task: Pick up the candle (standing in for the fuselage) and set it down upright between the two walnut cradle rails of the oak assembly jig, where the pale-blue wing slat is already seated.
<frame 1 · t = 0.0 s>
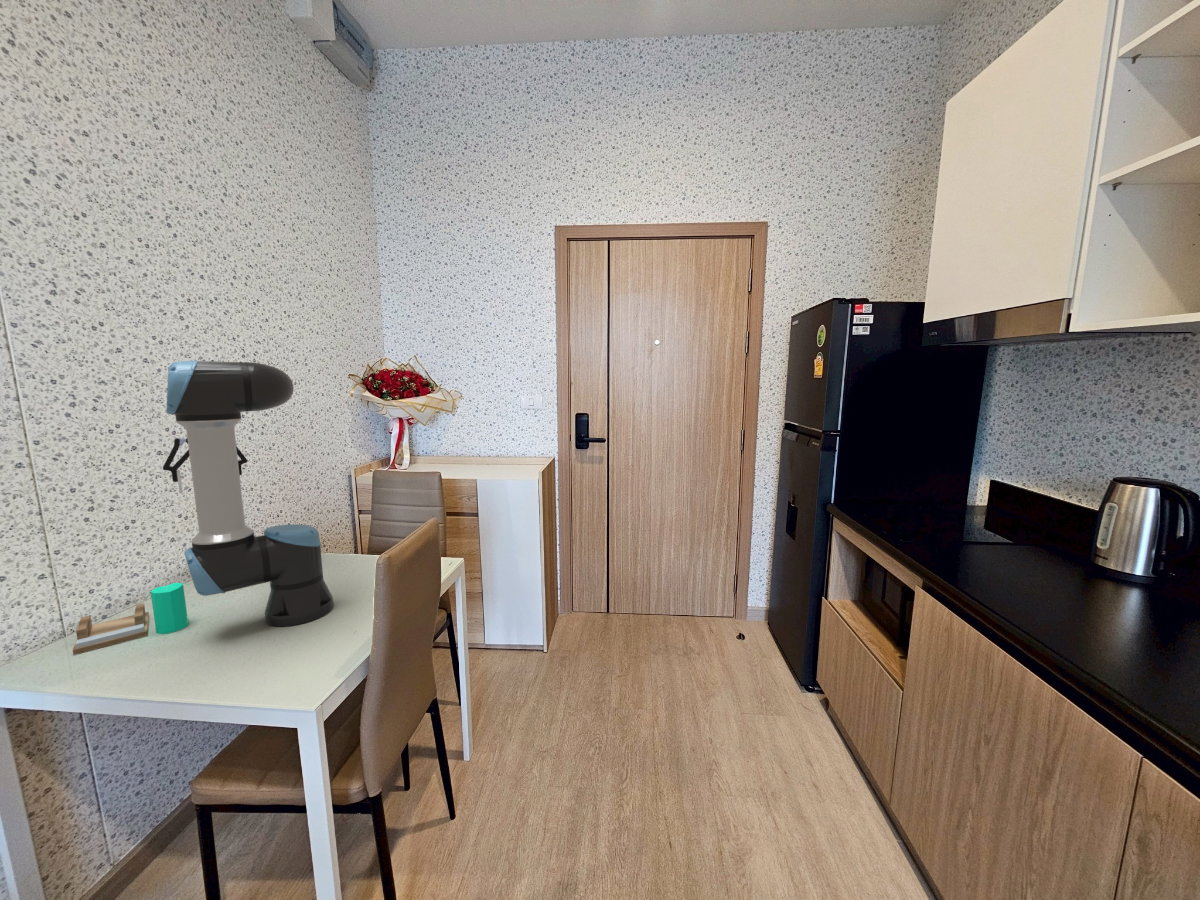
hand: (209, 488, 148), 28 cm above the table, fingers open, 13 cm apart
jig: (114, 634, 115), on the table
wing slat: (112, 642, 111), resting on jig
candle: (172, 628, 117), on the table
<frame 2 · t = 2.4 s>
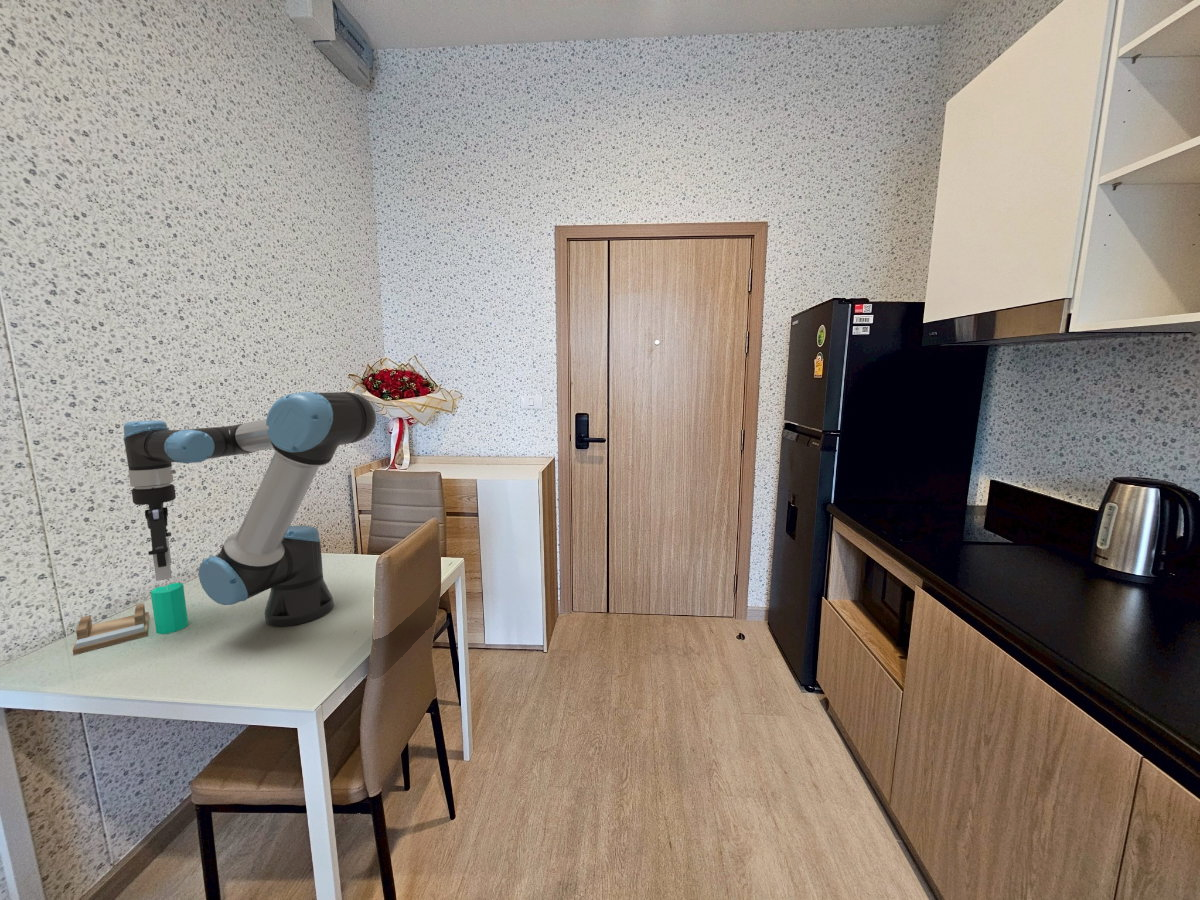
hand: (164, 571, 115), 15 cm above the table, fingers open, 13 cm apart
nothing on the table moved.
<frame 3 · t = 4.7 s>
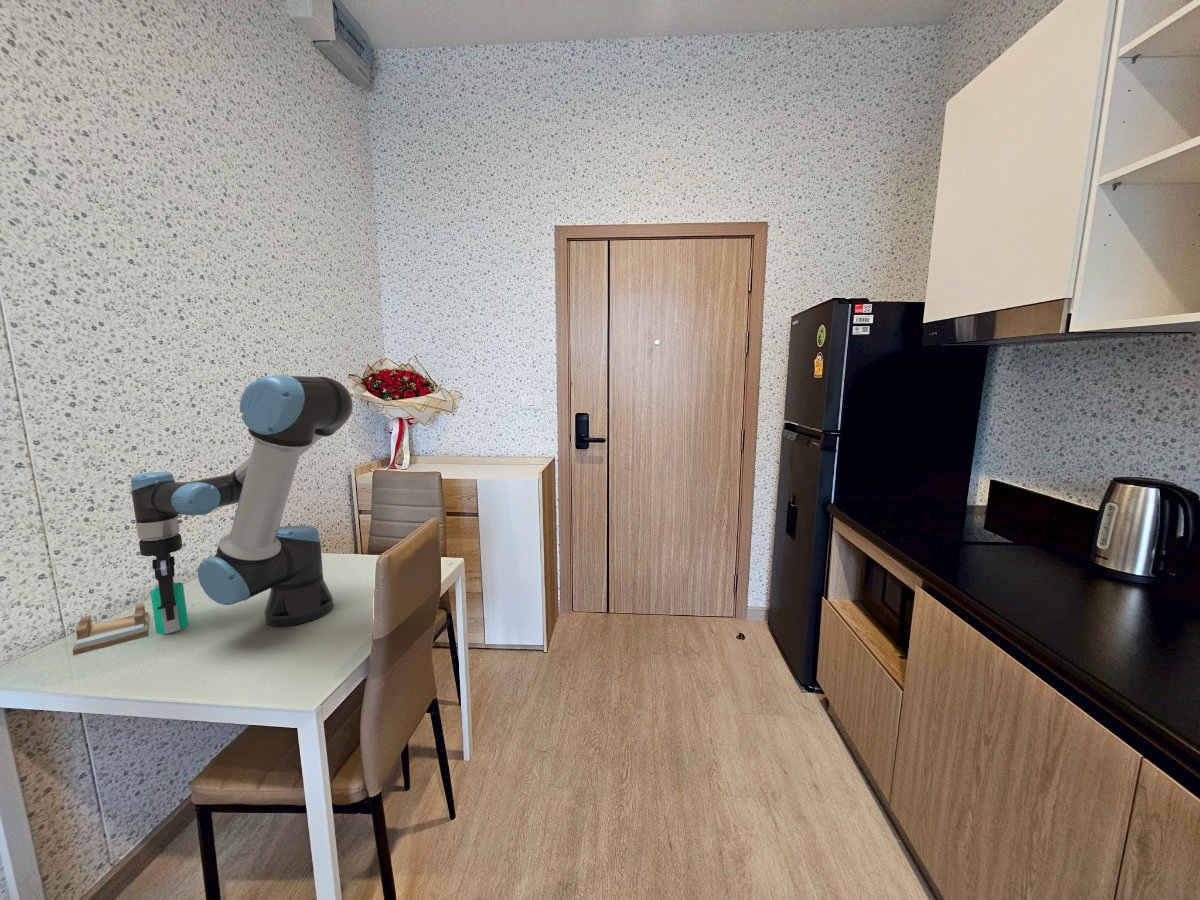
hand: (172, 626, 117), 0 cm above the table, fingers closed on candle, 6 cm apart
candle: (172, 628, 117), on the table, touching gripper
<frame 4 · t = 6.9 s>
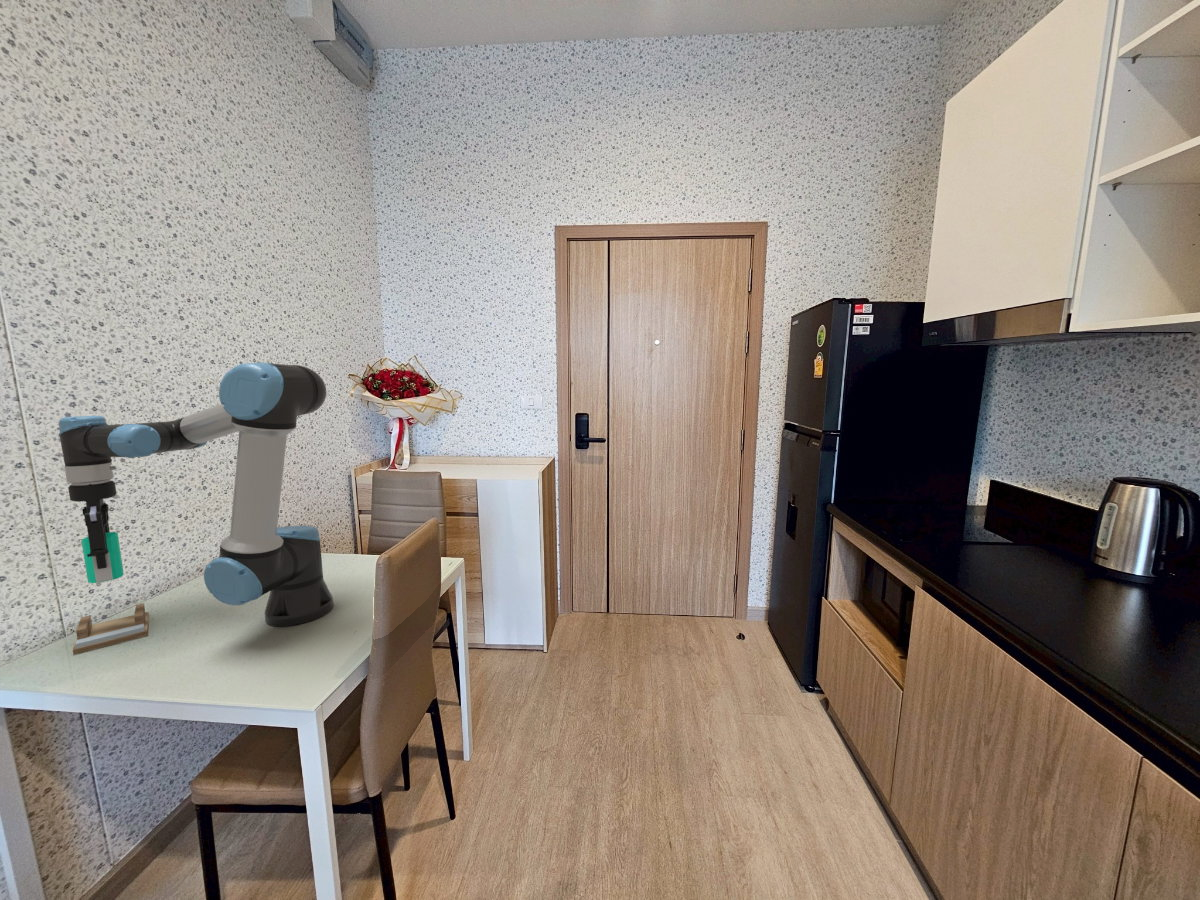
hand: (106, 576, 114), 14 cm above the table, fingers closed on candle, 6 cm apart
candle: (106, 578, 114), point 14 cm above the table, touching gripper
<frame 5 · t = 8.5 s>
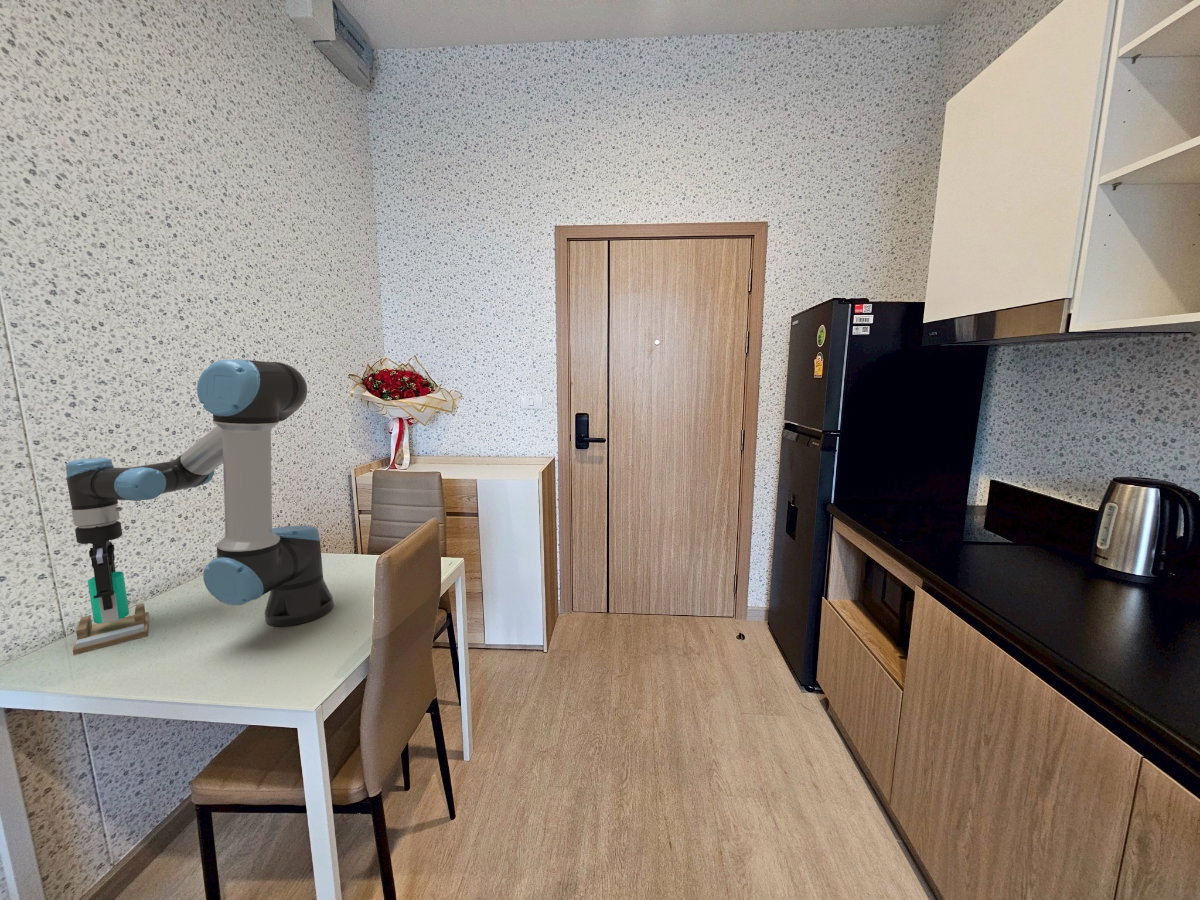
hand: (111, 616, 115), 4 cm above the table, fingers closed on candle, 6 cm apart
candle: (112, 618, 115), point 4 cm above the table, touching gripper
when the fingers open (3 cm above the table, at t = 9.5 s): candle drops 1 cm, resting on jig.
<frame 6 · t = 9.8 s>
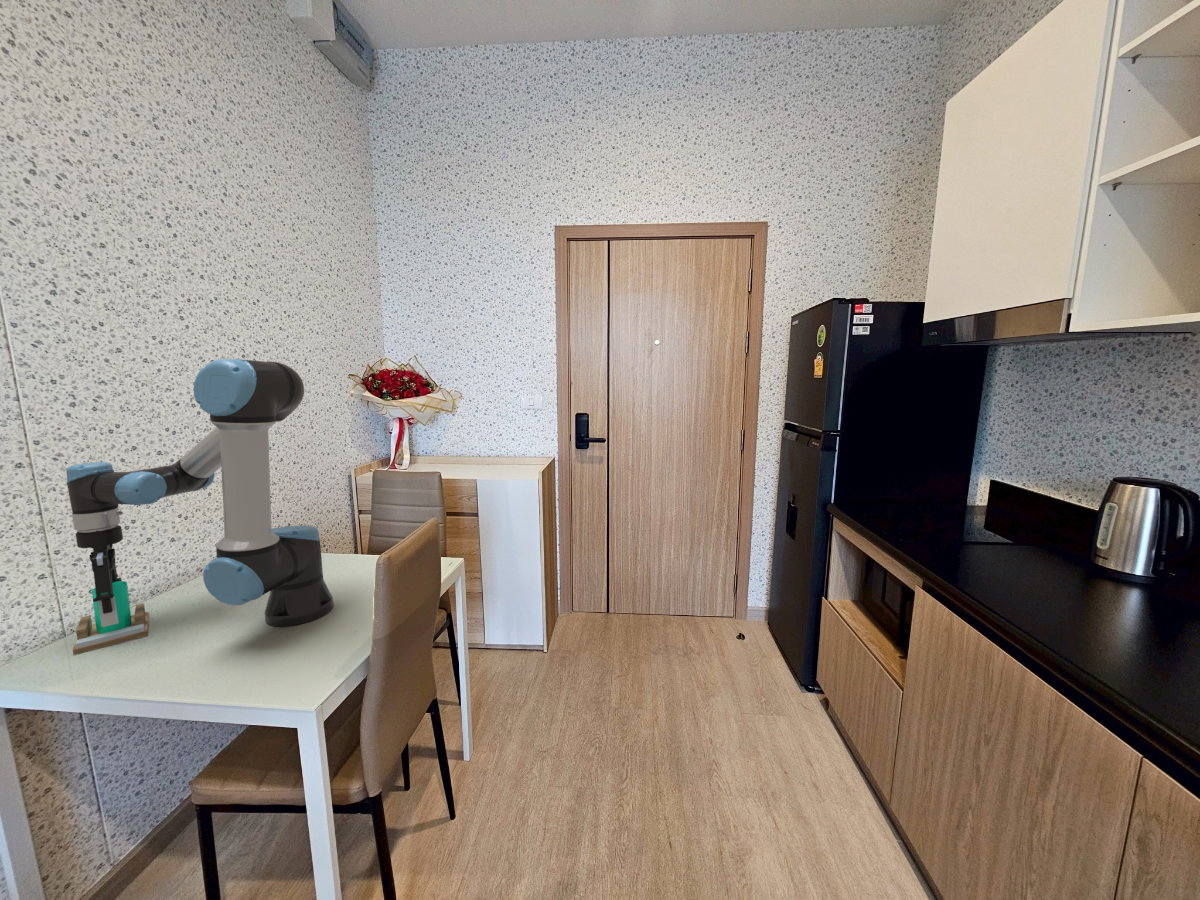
hand: (112, 617, 115), 4 cm above the table, fingers open, 10 cm apart
candle: (114, 627, 115), point 1 cm above the table, touching jig
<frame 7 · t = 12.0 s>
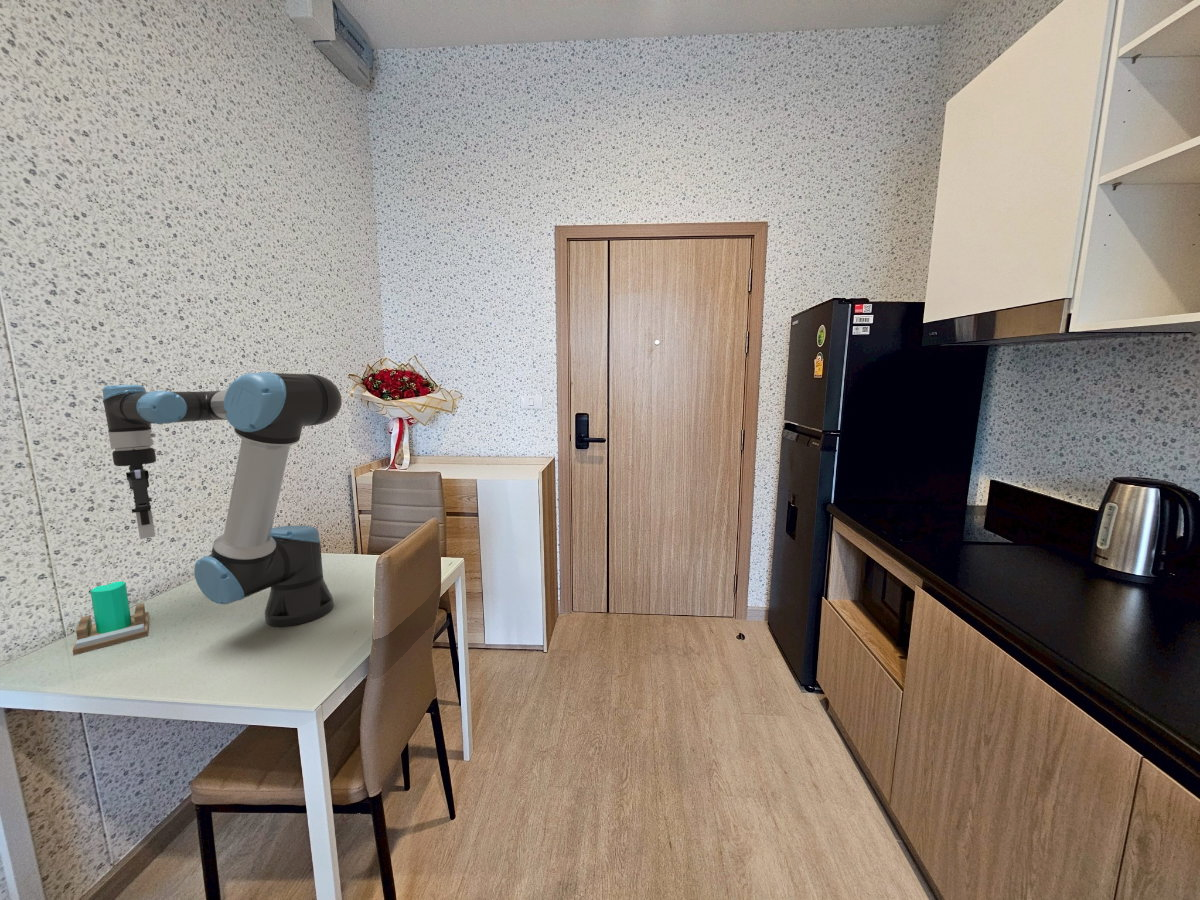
hand: (146, 532, 119), 23 cm above the table, fingers open, 13 cm apart
nothing on the table moved.
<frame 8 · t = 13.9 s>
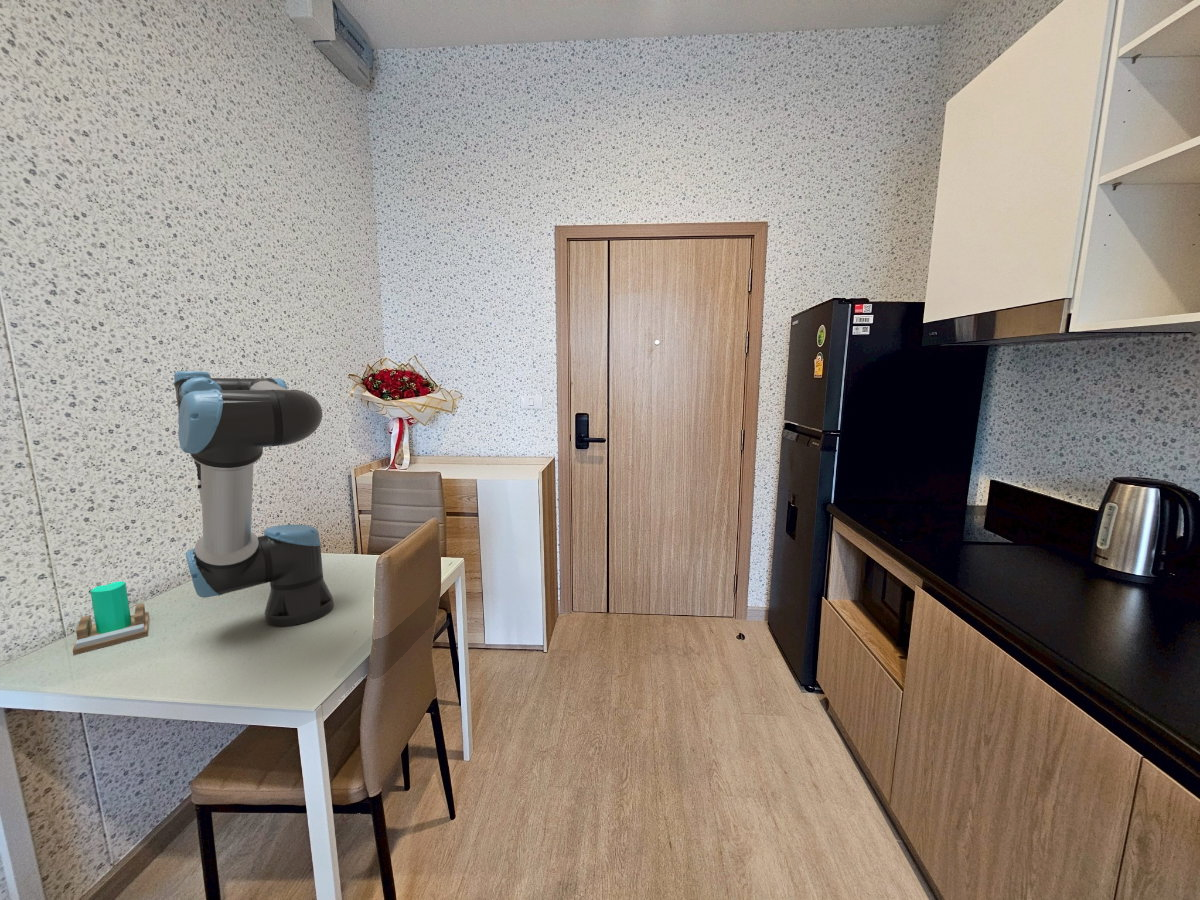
hand: (208, 507, 129), 27 cm above the table, fingers open, 13 cm apart
nothing on the table moved.
at the end: candle 0.2 cm from the target spot on the jig, point 1.0 cm above the jig's base; candle tilted 0°; the gripper is holding nothing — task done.
